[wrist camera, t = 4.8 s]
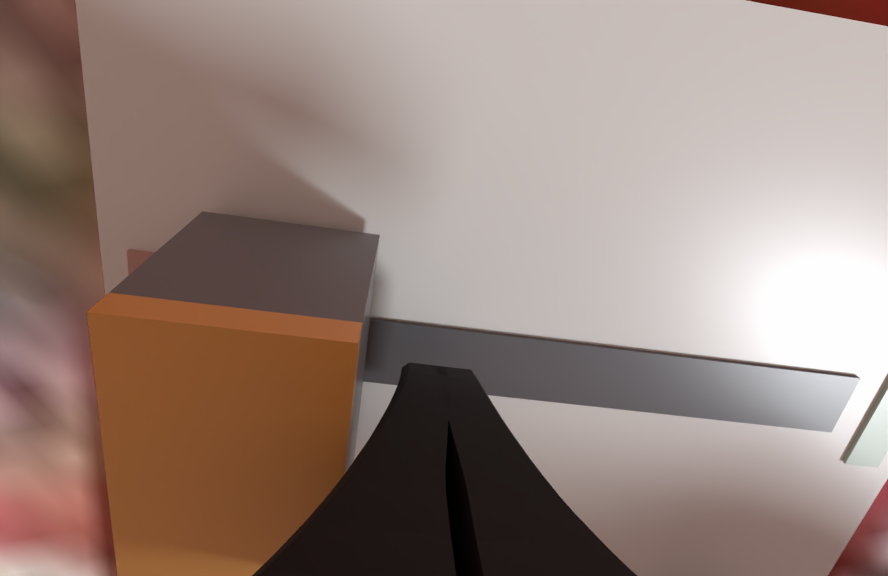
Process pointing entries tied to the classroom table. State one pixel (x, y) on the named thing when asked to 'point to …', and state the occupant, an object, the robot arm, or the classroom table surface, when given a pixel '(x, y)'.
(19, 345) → the classroom table surface
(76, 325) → the classroom table surface
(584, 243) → the breaker panel
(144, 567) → the lever
